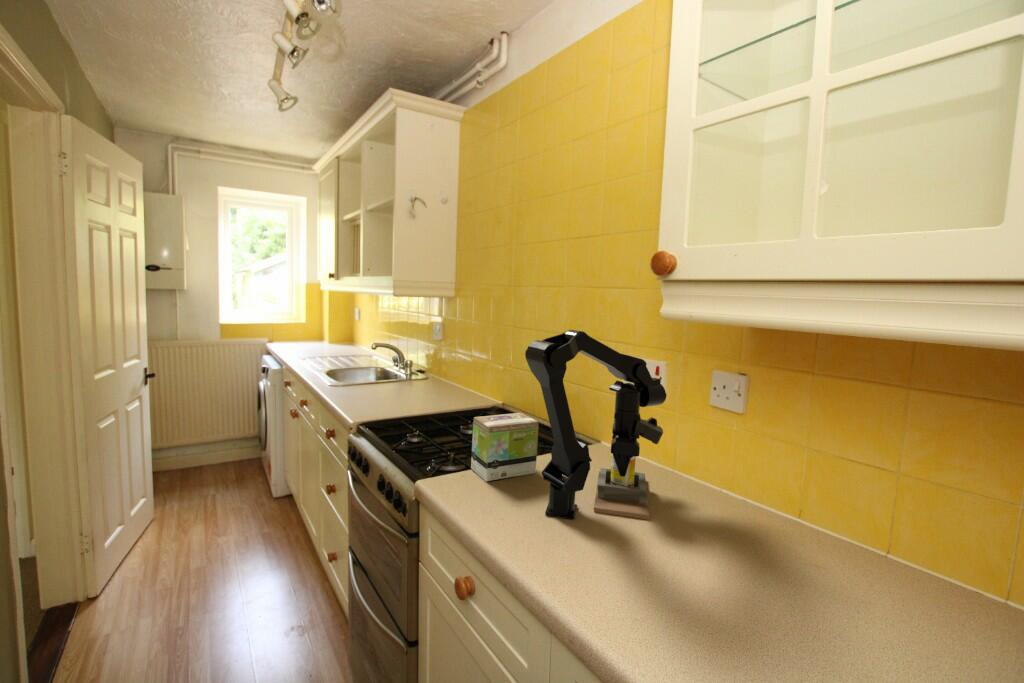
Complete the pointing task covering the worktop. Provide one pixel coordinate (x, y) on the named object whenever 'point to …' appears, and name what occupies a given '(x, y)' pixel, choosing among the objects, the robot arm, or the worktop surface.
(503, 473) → the tea box
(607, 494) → the board
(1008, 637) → the worktop surface
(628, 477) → the supplement bottle
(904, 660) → the worktop surface
